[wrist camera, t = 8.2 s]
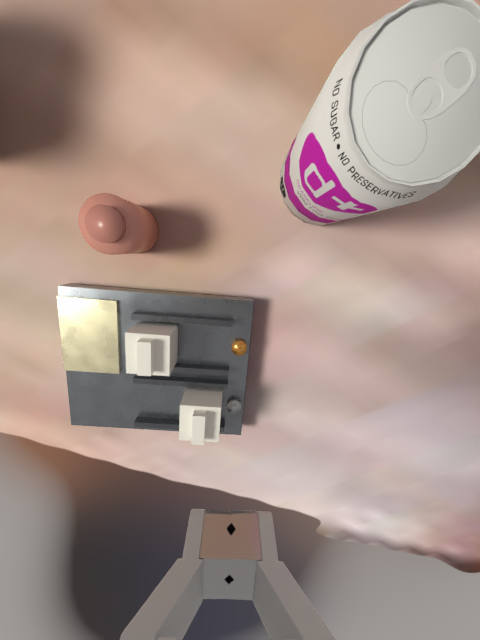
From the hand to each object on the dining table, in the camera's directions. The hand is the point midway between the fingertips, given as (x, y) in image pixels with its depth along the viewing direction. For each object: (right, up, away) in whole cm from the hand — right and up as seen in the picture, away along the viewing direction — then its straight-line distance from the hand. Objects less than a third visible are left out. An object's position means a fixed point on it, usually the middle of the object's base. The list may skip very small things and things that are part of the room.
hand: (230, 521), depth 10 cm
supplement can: (+8, +21, +16) cm, 28 cm away
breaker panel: (-9, +3, +21) cm, 23 cm away
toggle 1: (-8, +5, +18) cm, 20 cm away
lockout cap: (-10, +17, +17) cm, 26 cm away
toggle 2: (-4, -2, +20) cm, 20 cm away
